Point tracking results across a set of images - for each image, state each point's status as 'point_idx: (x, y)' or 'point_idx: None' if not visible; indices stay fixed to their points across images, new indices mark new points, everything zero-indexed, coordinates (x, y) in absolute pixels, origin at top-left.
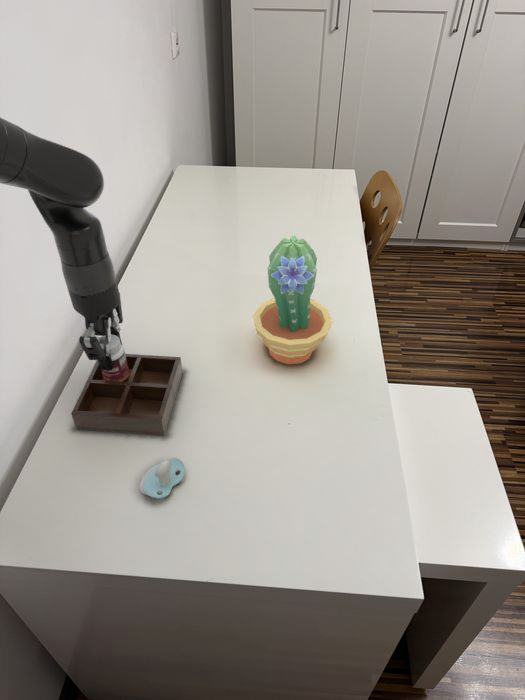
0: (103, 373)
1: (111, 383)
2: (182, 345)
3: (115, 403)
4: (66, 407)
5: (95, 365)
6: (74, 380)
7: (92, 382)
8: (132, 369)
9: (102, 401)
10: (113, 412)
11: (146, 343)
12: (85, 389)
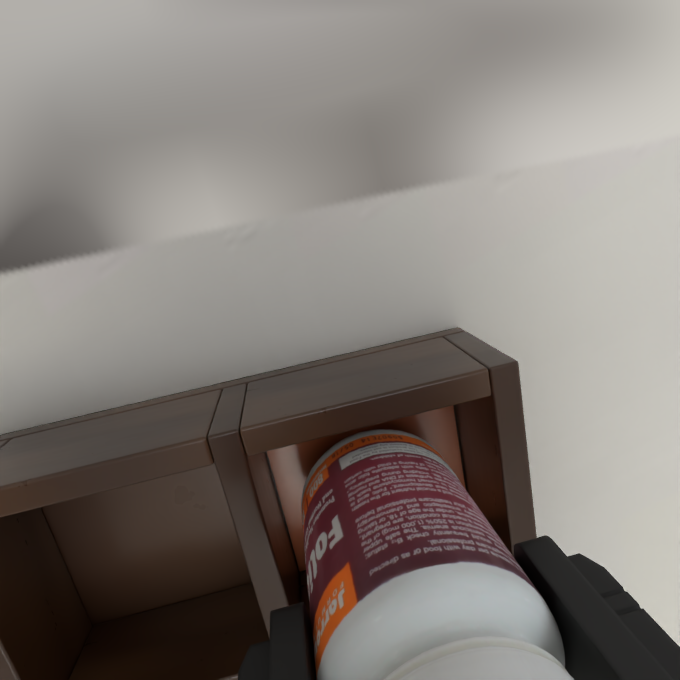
0: (312, 519)
1: (258, 587)
2: (673, 586)
3: (222, 533)
4: (109, 290)
5: (381, 404)
6: (317, 210)
7: (223, 476)
8: (467, 490)
9: (209, 470)
10: (163, 557)
11: (670, 432)
12: (144, 472)
